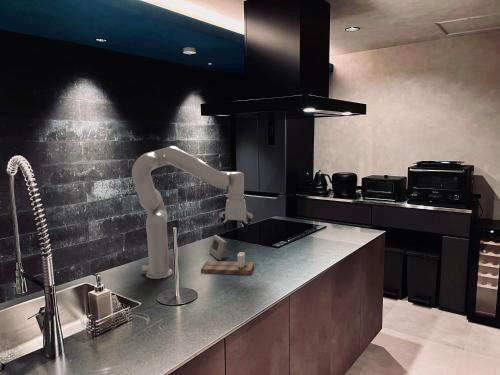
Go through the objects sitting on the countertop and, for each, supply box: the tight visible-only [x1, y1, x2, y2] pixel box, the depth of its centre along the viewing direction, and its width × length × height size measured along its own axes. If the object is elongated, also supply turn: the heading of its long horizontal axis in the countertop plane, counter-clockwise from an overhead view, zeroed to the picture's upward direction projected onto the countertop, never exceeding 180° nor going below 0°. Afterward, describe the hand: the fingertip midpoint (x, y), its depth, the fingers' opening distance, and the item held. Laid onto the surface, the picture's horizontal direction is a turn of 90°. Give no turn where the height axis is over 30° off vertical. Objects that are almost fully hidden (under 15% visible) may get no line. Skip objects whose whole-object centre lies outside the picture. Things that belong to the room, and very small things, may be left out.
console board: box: [200, 260, 255, 276], centre depth 194 cm, size 25×12×2 cm, turn 82°
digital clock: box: [208, 234, 229, 261], centre depth 215 cm, size 16×9×11 cm, turn 14°
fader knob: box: [236, 251, 246, 267], centre depth 192 cm, size 3×5×6 cm, turn 172°
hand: (235, 230), depth 191 cm, fingers open, 9 cm apart
